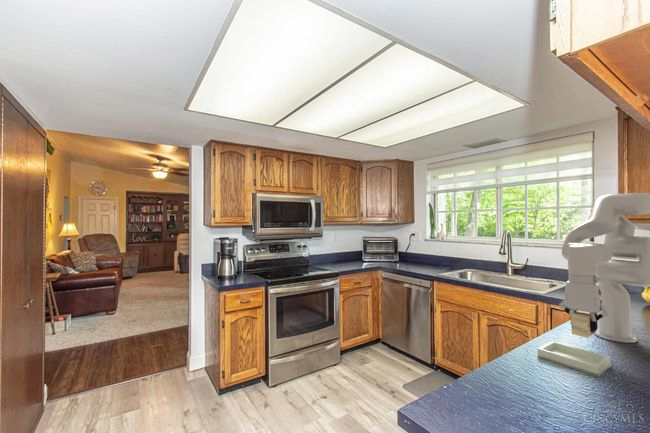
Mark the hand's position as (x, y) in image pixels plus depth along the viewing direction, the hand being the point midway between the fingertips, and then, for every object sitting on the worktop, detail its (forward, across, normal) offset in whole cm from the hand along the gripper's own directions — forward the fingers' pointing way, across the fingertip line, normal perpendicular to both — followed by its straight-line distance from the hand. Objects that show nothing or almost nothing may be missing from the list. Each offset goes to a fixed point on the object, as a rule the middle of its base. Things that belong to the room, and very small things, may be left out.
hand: (583, 328), depth 108 cm
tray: (+7, -1, +14) cm, 16 cm away
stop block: (+1, 0, 0) cm, 1 cm away
